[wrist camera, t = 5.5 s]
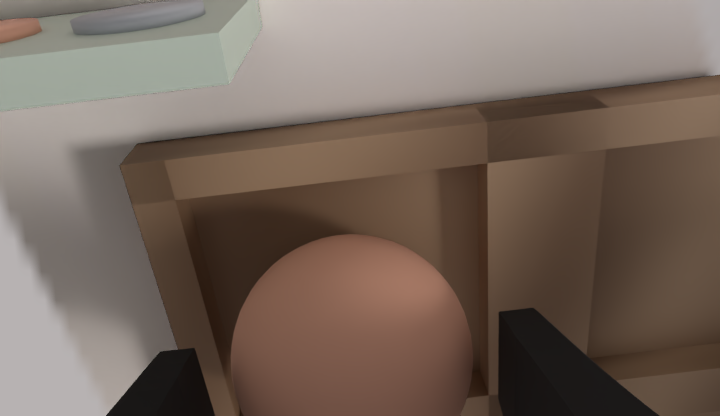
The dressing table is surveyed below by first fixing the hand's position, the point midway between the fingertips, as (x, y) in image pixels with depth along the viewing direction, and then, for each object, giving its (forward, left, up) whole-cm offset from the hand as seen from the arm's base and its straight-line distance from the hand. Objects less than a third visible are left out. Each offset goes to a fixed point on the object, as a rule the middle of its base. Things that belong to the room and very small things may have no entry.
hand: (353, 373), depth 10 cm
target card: (+4, -6, -3) cm, 7 cm away
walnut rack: (-4, +4, -3) cm, 6 cm away
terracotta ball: (0, 0, -3) cm, 3 cm away
